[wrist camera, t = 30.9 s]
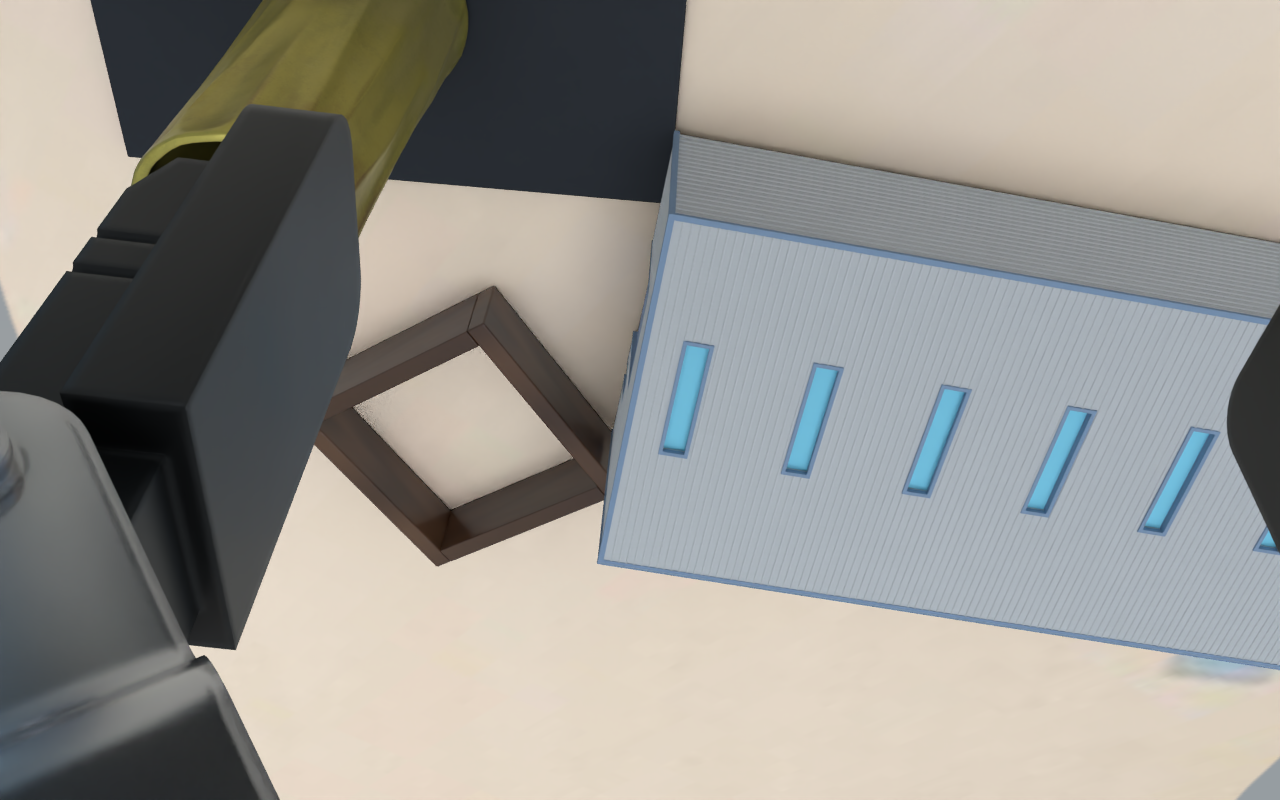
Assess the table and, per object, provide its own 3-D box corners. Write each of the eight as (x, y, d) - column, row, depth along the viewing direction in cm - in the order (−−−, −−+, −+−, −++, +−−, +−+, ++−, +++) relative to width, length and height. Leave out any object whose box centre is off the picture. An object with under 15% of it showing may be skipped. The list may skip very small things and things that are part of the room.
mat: (131, 151, 44) (127, 157, 43) (39, -239, 35) (33, -236, 35) (669, 198, 43) (668, 204, 43) (702, -184, 35) (702, -180, 35)
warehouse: (1475, 276, 43) (1593, 408, 37) (1274, 540, 52) (1344, 680, 47) (673, 130, 41) (666, 246, 35) (611, 432, 50) (596, 564, 44)
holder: (305, 380, 50) (287, 419, 48) (494, 284, 46) (483, 323, 44) (447, 526, 55) (436, 567, 53) (627, 451, 51) (623, 492, 49)
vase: (317, -124, 36) (136, 66, 25) (498, -30, 38) (400, 188, 27) (265, 43, 40) (85, 272, 29) (432, 123, 42) (322, 370, 31)
